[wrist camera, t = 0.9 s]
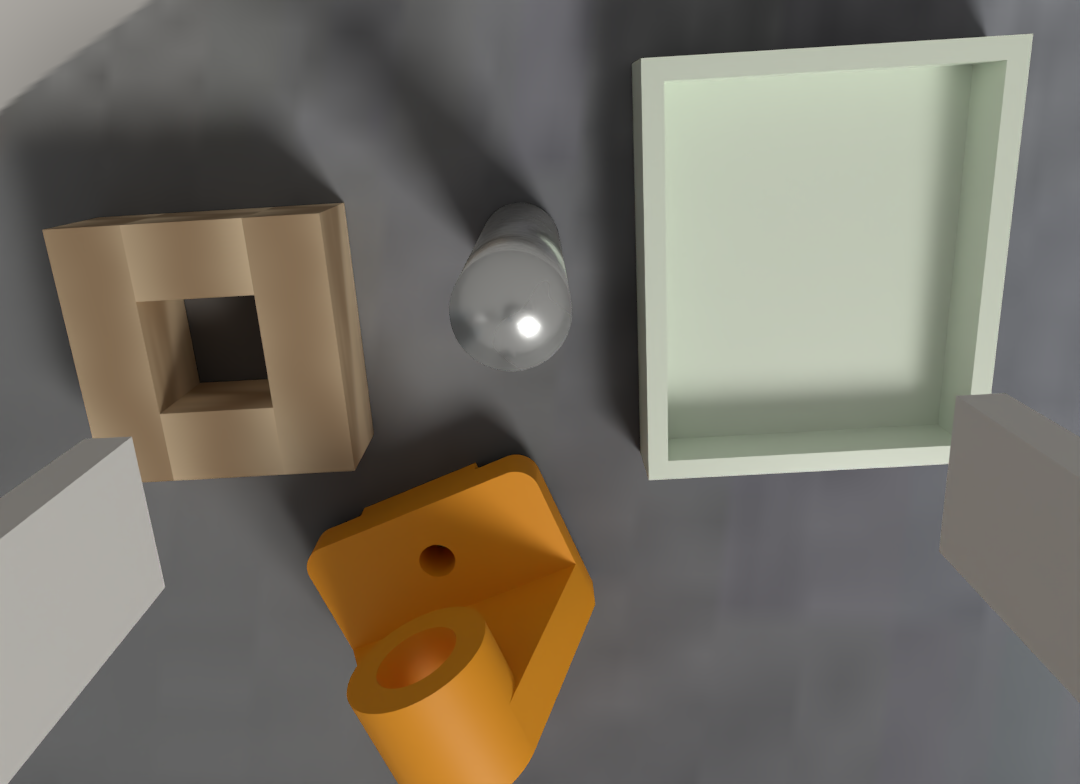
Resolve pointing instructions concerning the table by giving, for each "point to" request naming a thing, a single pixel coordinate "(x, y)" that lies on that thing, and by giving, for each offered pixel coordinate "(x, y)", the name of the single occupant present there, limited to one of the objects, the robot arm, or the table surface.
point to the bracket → (457, 619)
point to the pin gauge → (513, 291)
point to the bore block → (167, 352)
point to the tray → (820, 250)
